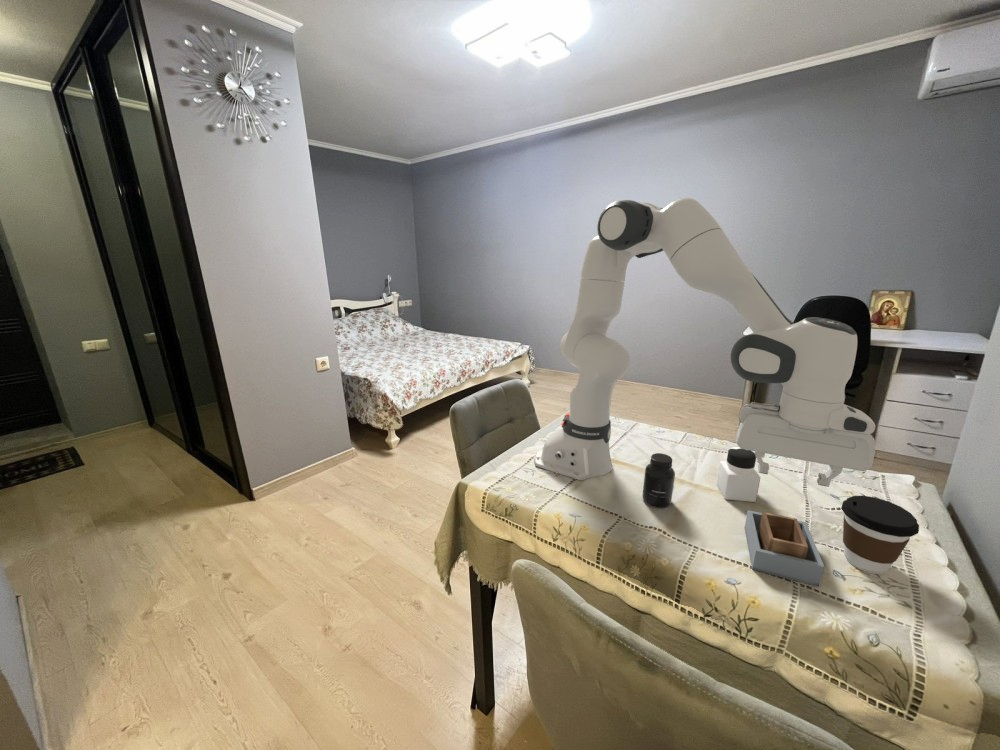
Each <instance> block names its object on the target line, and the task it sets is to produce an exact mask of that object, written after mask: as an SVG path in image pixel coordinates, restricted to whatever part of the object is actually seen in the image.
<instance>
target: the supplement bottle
mask: <svg viewBox="0 0 1000 750" xmlns="http://www.w3.org/2000/svg"><path fill="white" fill-rule="evenodd" d="M675 477H676V472H675V470H674V468H673V458H672V457H671V456H670V455H668V454H665V453H660V452H659V453H658V452H656V453H653V454H651V456H650V462H649V464H647V465H646V466H645V469H644V477H643V485H642V487H643V488H642V500H643V501H644V502H645V503H646V504H647V505H648V506H651V507H653V508H657V509H658V508H660V509H664V508H667V507H669V506H670V505H671V503H672V498H673V493H674V485H675V479H676V478H675Z"/></svg>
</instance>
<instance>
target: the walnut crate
mask: <svg viewBox="0 0 1000 750" xmlns="http://www.w3.org/2000/svg"><path fill="white" fill-rule="evenodd" d="M761 513H762V517H761V522H760V527H759V532H758V539H759V543H760V547H761V549H762V550H767V551H771V552H775V553H779V554H783V555H788V556H792V557H796V558H800V559H804V560H805V559H806V555H807V551H808V545H807V543H806V540H805V538H804V535H803V533H802V530H801V528H800V525H799V523H798V521H799V520H798V519H797V518H794V517H791V516H786V515H779V514H776V513H769V512H764V511H762V512H761Z"/></svg>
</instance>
